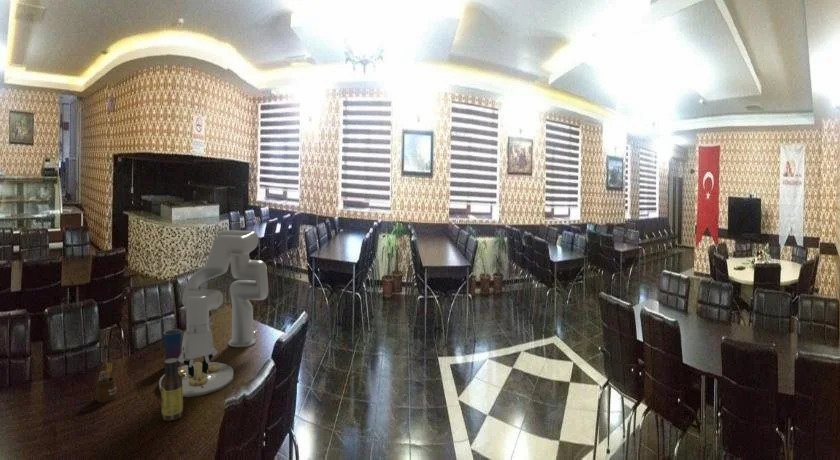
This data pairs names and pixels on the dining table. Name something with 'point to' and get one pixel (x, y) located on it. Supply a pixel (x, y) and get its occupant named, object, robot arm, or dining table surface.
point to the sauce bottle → (171, 391)
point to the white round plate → (217, 380)
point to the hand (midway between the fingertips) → (198, 373)
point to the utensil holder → (106, 387)
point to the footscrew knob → (198, 376)
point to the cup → (172, 343)
